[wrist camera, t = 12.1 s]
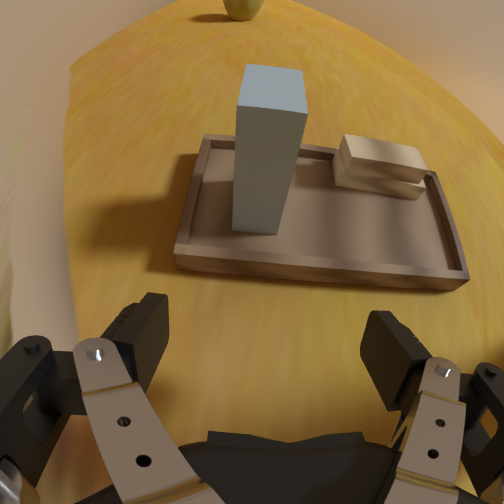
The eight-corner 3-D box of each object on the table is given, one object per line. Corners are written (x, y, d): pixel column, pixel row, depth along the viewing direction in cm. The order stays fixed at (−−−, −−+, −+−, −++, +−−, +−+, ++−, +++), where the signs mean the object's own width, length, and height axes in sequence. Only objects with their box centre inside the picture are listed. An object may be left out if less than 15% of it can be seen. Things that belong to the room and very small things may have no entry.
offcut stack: (409, 177, 27) (425, 150, 24) (417, 202, 26) (436, 176, 22) (331, 161, 27) (343, 130, 24) (335, 187, 25) (349, 156, 22)
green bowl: (269, 22, 54) (272, -2, 48) (231, 25, 51) (233, -1, 45) (250, 14, 58) (252, -8, 52) (215, 16, 56) (216, -7, 49)
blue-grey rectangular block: (278, 184, 25) (301, 70, 15) (276, 235, 22) (308, 113, 13) (239, 180, 25) (246, 63, 15) (232, 230, 22) (236, 105, 13)
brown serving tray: (425, 186, 29) (435, 172, 27) (454, 290, 23) (470, 279, 21) (205, 152, 28) (204, 133, 26) (178, 269, 22) (173, 253, 20)
